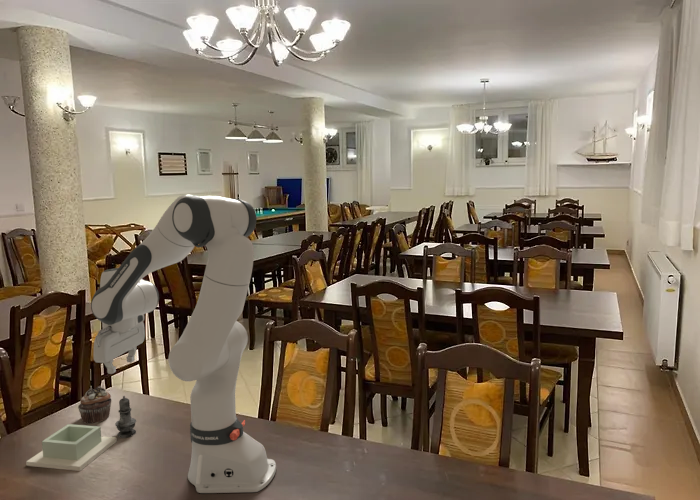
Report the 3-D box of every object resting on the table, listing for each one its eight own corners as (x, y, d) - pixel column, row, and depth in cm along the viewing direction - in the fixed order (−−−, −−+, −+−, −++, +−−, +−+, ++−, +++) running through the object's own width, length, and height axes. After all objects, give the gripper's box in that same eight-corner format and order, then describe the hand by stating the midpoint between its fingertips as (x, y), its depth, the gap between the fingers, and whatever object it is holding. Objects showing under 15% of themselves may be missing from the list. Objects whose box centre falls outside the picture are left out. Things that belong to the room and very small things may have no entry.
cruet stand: (116, 441, 156) (115, 423, 155) (79, 470, 141) (78, 450, 140) (67, 437, 159) (66, 419, 158) (26, 465, 143) (24, 445, 143)
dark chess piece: (129, 439, 158) (126, 400, 156) (111, 437, 159) (108, 398, 157) (141, 429, 163) (138, 392, 162) (123, 428, 165) (121, 391, 163)
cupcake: (101, 409, 178) (99, 380, 177) (118, 416, 173) (116, 386, 171) (73, 419, 171) (70, 389, 169) (89, 427, 165) (86, 396, 164)
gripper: (106, 332, 146) (109, 381, 148) (147, 313, 166) (149, 356, 168) (85, 331, 147) (89, 379, 149) (128, 312, 167) (131, 355, 169)
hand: (121, 367), depth 158 cm, fingers open, 8 cm apart
